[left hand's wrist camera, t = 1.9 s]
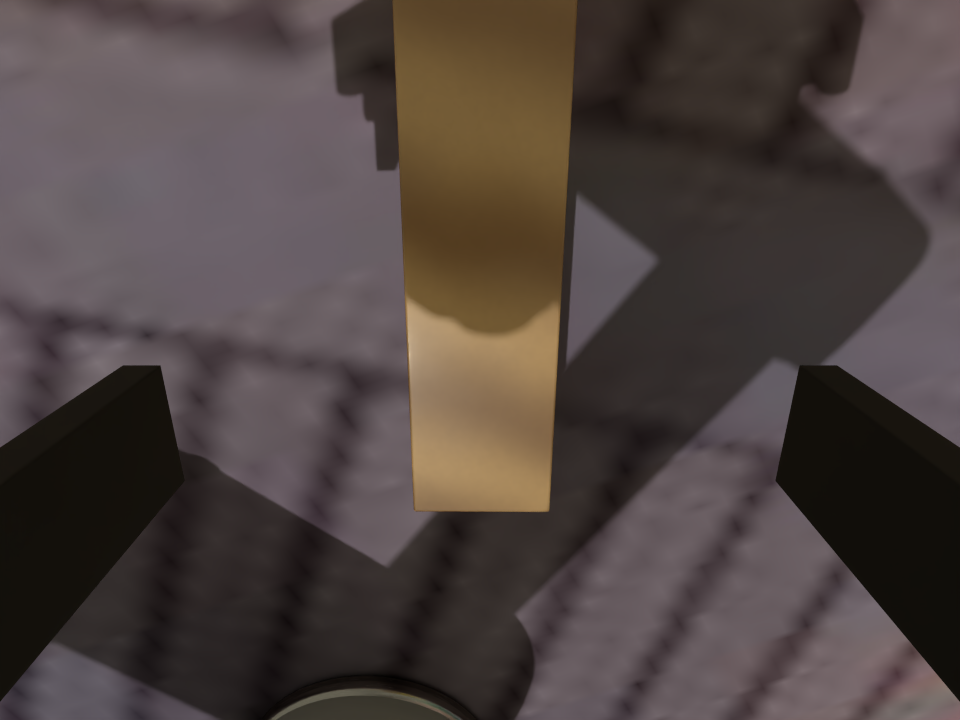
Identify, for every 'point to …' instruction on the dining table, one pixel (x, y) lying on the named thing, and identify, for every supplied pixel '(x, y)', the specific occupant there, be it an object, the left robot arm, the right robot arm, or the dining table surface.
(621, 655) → the dining table surface
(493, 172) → the bar
